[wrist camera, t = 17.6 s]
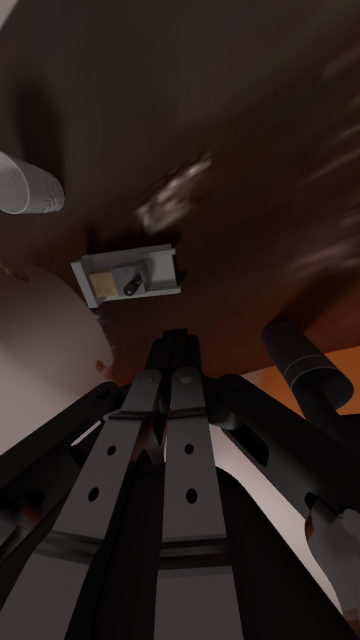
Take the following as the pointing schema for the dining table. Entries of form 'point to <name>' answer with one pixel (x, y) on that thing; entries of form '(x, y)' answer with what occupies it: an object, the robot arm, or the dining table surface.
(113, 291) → the tan cube
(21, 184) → the white cup
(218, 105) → the dining table surface
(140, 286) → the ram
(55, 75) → the dining table surface
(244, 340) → the dining table surface
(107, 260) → the press
